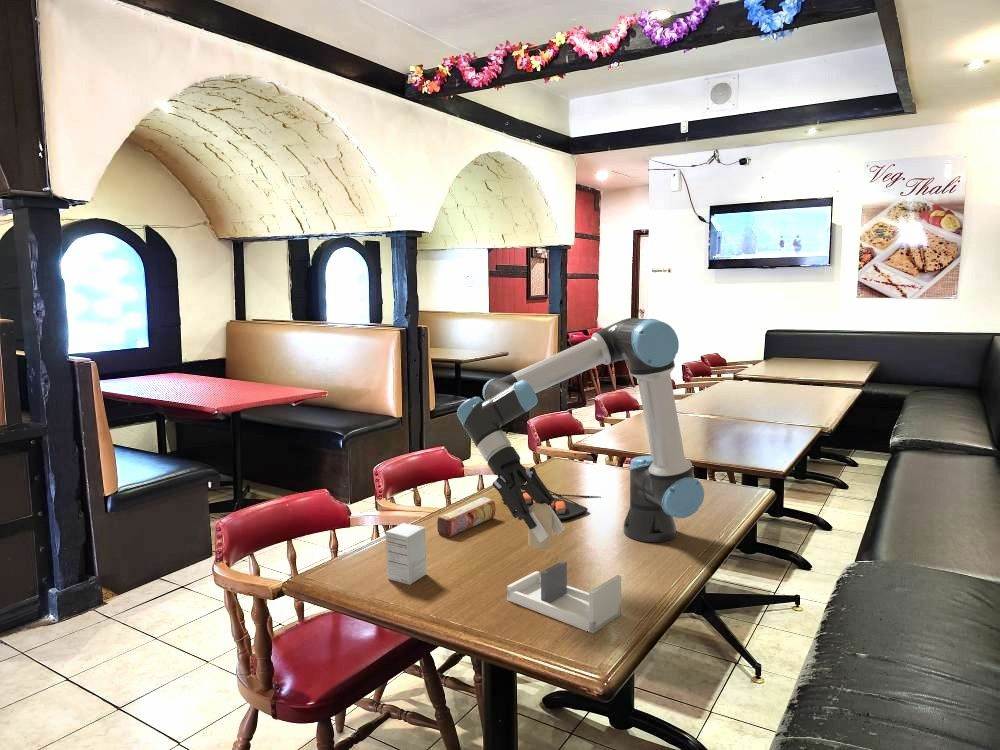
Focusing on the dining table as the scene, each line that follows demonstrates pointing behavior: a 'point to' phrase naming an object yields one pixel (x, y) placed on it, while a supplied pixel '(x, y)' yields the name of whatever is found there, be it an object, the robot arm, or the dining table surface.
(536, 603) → the pusher lane
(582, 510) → the sushi plate
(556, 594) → the plate
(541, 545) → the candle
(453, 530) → the snack package
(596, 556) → the dining table surface
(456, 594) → the dining table surface
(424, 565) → the supplement box
